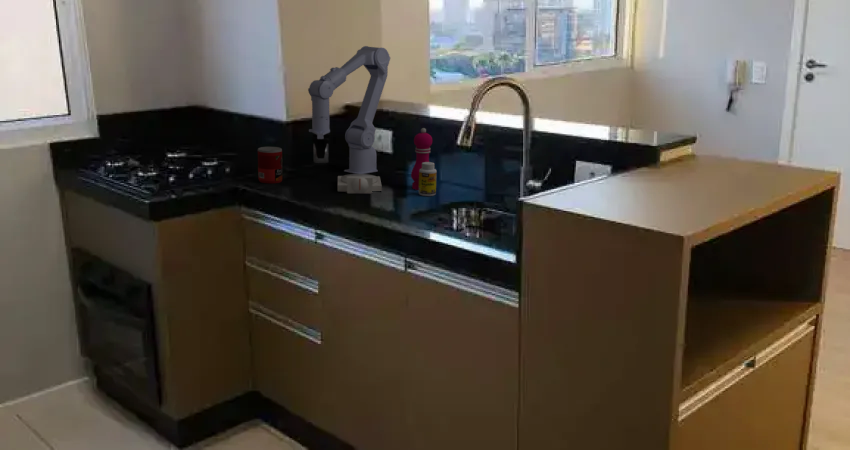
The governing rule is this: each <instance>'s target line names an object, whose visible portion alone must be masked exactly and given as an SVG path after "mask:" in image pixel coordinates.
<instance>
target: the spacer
mask: <svg viewBox="0 0 850 450" xmlns="http://www.w3.org/2000/svg"><path fill="white" fill-rule="evenodd" d="M313 163H315V164H326V163H327V164H328V163H329V143H327V145H326V150H325V156H324V158H318V157H317V153H316V148H315V144H314V143H313Z"/></svg>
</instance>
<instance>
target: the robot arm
mask: <svg viewBox="0 0 850 450" xmlns="http://www.w3.org/2000/svg"><path fill="white" fill-rule="evenodd" d="M390 61H391V56H390V54H389V51H388V50H387V49H386V48H385V47H375V46H374V47H373V46H368V45H364V46H363V47H361V48H360V49H357V50H356V53H355V54H354V55H353V56H352V57H351V58H350V59H349V60H348V61H346V62H345V63H344V64H342V66H341V67H338V66H335V67H331V68H330V69H329V71H328V72H327V73H326V74H324V75H322V76H320V78H319V79H314V80H312V82H311V83H310V84H309V88H307V91H308V93H309V95H310V100H311V111H312V112H311V113H312V114H311V117H312V120H311V121H312V128H309V129H308V132H309V133H312V137H311V141H312V142H313V144H315V148H316V153H317V157H318V158H324V156H325V150H326V145H327V144H329V143H328V142H329V141H330V133H331V128H330V98H332V96H333V94H334V91H335V90H336V89H338V88H339V87H340V86H341V85H342V84H344V83H345V82H346V81H347V77H348V75H351V74H352V73H353V72H355V71H356V70H358V69H360V67H365V69H366V70H367V71H368V73H369V75H370V77H369V81H368V84H367V86H366V90H365V92H364V95H363V99H362V103H361V106H360V108H359V112H358V115H357V117H356V118H355V119H354V120H353V121H352V122H350V126H349V127H348V129H346V131H345V132H344V133H345V135H344V139H345V141H346V143H347V144H348V147H349V159H348V160H349V161H348V163H349V165H348V166H349V167H348V169H344V170H343V172H346V173H350V174H370V173H376V172H378V169H377V151H376V148H375V147H374V146H373V144H374V143H375V137H376V135H375V134H376V131H377V130H376V129H377V128H375V126H374V124H373V122H374V118H375V115H376V112H377V109H378V106H379V103H380V100H381V97H382V93H383V91H384V88H385V84H386V82H387V78H388V69H389V68H388V67H389V64H390Z"/></svg>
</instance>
